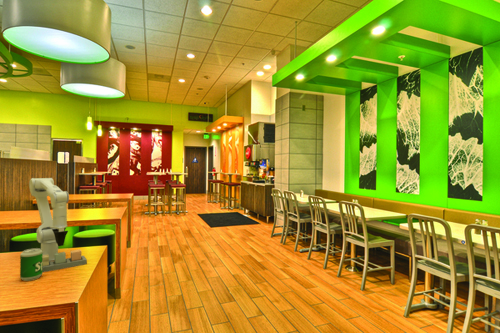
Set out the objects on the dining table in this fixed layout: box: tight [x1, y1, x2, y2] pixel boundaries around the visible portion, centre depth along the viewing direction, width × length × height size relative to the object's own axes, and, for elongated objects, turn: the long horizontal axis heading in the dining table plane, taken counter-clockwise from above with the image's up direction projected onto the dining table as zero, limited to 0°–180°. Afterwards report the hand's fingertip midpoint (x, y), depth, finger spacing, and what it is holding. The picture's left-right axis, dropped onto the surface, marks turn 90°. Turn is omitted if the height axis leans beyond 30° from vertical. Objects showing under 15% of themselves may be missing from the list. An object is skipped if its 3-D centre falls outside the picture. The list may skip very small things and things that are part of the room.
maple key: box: [43, 255, 49, 266], centre depth 129 cm, size 4×4×4 cm
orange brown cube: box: [70, 248, 82, 261], centre depth 137 cm, size 4×4×4 cm
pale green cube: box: [54, 251, 67, 264], centre depth 133 cm, size 4×4×4 cm
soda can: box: [19, 247, 43, 282], centre depth 119 cm, size 8×8×12 cm
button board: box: [42, 255, 88, 273], centre depth 133 cm, size 8×21×2 cm, turn 130°
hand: (59, 244), depth 136 cm, fingers open, 7 cm apart
